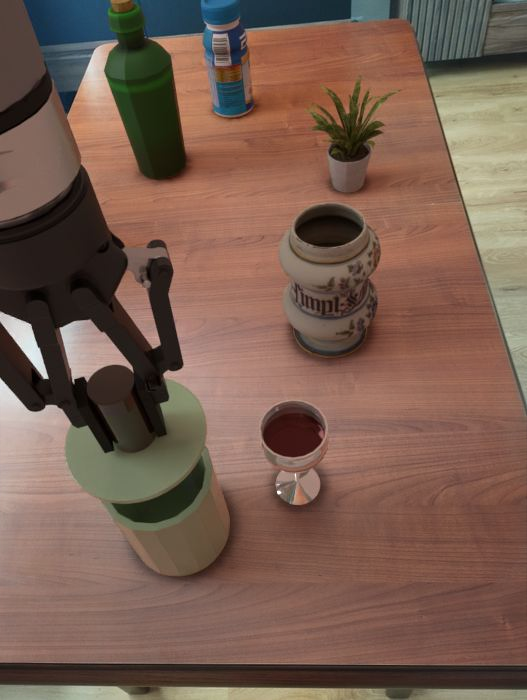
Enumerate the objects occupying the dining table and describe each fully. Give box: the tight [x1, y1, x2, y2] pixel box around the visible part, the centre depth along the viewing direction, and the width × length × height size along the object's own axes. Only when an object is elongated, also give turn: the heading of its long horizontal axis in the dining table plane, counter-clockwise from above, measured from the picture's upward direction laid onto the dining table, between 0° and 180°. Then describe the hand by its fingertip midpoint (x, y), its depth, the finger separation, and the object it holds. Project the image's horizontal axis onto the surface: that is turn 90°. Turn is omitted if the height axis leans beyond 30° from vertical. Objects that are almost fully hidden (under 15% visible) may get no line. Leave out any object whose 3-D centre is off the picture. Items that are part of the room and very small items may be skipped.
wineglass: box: [257, 398, 330, 506], centre depth 60 cm, size 7×7×12 cm
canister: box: [100, 445, 231, 577], centre depth 58 cm, size 10×10×12 cm
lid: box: [64, 364, 208, 504], centre depth 45 cm, size 12×12×8 cm
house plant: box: [305, 74, 403, 193], centre depth 92 cm, size 14×14×16 cm
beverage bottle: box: [200, 0, 255, 119], centre depth 108 cm, size 8×8×20 cm
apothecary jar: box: [277, 201, 382, 359], centre depth 71 cm, size 12×12×18 cm
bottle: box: [103, 0, 187, 180], centre depth 95 cm, size 11×11×28 cm
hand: (133, 429), depth 47 cm, fingers closed on lid, 4 cm apart
